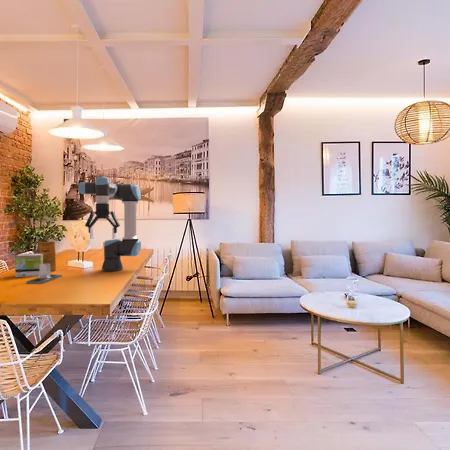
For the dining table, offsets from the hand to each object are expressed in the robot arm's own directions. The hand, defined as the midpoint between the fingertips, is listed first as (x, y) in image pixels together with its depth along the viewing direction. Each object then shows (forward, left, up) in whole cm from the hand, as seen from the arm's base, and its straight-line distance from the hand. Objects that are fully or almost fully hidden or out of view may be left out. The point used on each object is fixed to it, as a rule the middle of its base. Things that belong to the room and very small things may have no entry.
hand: (102, 238), depth 191 cm
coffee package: (-43, -59, -28) cm, 78 cm away
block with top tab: (-10, -41, -27) cm, 50 cm away
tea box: (-25, -60, -28) cm, 71 cm away
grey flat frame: (-10, -41, -28) cm, 51 cm away
